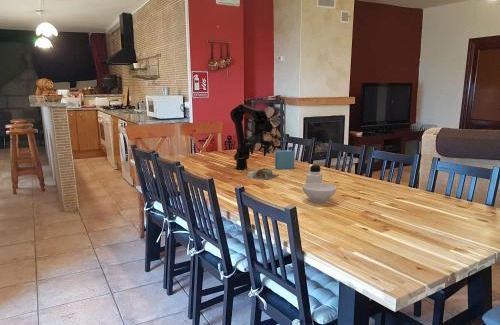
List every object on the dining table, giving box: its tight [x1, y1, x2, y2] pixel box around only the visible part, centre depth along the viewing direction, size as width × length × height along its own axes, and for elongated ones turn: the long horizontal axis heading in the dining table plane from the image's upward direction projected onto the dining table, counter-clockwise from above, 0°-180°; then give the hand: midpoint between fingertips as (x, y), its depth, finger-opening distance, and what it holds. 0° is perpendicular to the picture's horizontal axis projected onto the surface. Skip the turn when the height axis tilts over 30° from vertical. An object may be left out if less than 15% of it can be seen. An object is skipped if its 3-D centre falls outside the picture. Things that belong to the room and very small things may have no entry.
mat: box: [252, 173, 279, 181], centre depth 231 cm, size 10×14×1 cm
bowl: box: [301, 182, 337, 204], centre depth 181 cm, size 16×16×7 cm
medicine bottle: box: [305, 164, 323, 184], centre depth 207 cm, size 7×7×12 cm
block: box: [258, 167, 273, 178], centre depth 231 cm, size 4×7×6 cm
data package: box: [274, 149, 296, 170], centre depth 254 cm, size 12×4×12 cm, turn 107°
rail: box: [247, 167, 264, 179], centre depth 234 cm, size 3×16×3 cm, turn 147°
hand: (258, 155), depth 237 cm, fingers open, 9 cm apart
